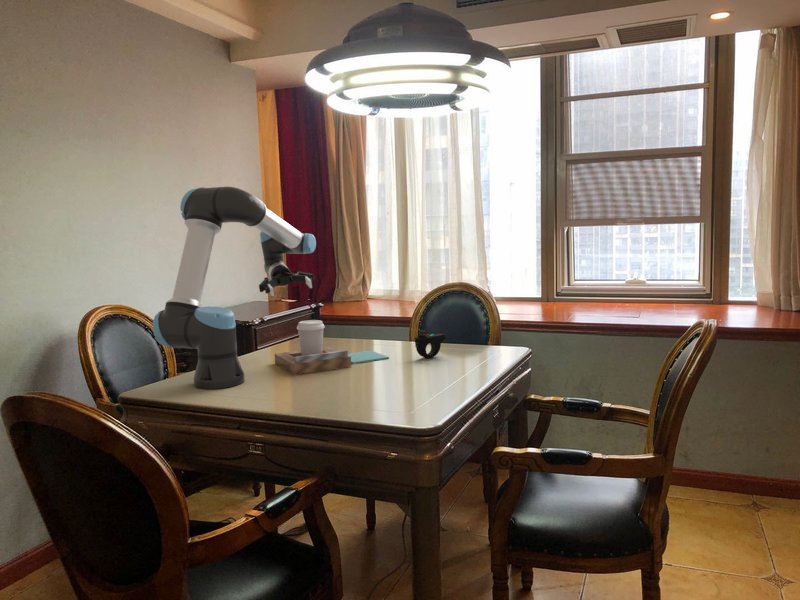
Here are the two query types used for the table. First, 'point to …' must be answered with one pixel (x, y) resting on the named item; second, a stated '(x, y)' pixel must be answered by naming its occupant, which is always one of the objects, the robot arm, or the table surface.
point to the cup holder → (313, 360)
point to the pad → (366, 356)
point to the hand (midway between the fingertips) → (291, 288)
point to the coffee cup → (311, 336)
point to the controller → (424, 340)
